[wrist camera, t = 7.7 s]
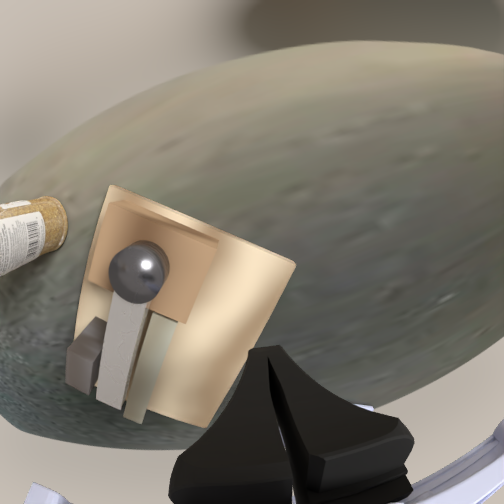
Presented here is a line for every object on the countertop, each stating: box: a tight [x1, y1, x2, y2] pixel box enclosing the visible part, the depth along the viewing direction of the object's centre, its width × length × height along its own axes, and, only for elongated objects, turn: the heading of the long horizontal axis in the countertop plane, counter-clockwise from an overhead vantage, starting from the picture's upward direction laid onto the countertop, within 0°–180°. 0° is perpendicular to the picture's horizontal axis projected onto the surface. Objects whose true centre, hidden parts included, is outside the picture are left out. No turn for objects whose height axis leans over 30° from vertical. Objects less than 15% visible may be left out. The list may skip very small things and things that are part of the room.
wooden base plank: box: [66, 185, 296, 428], centre depth 17 cm, size 14×18×6 cm
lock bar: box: [96, 240, 170, 410], centre depth 15 cm, size 12×3×2 cm, turn 156°
